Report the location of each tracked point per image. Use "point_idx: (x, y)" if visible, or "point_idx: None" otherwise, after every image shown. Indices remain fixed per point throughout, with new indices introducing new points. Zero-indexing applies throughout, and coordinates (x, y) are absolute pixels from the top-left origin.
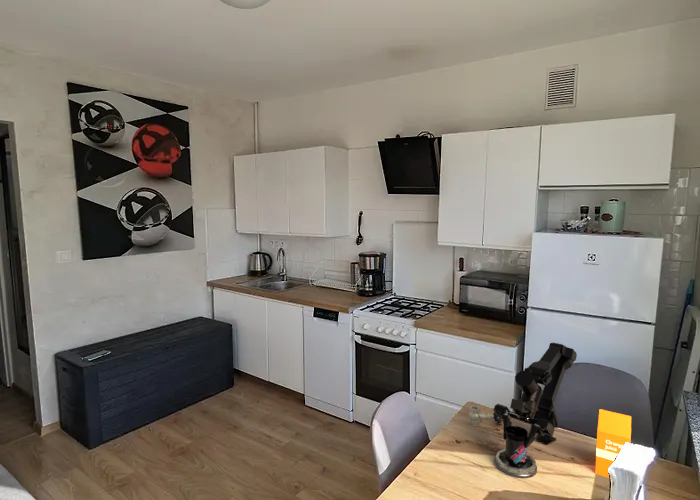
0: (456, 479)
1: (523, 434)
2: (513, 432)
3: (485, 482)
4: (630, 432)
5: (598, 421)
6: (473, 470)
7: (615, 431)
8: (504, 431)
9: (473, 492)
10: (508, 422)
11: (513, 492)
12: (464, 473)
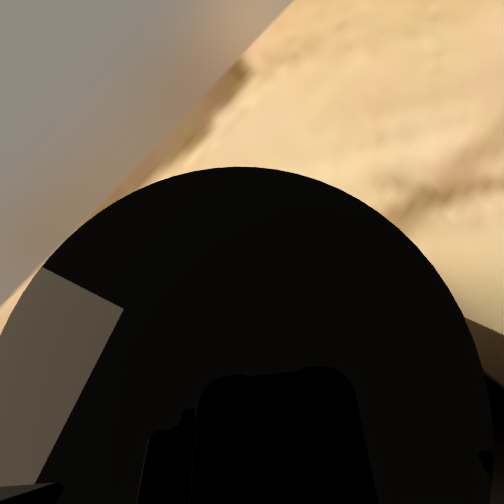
0: (412, 14)
1: (40, 358)
2: (223, 257)
3: (303, 105)
4: None
5: None
6: (423, 128)
7: None
8: (472, 332)
9: (291, 19)
10: None
11: (163, 154)
12: (430, 72)
